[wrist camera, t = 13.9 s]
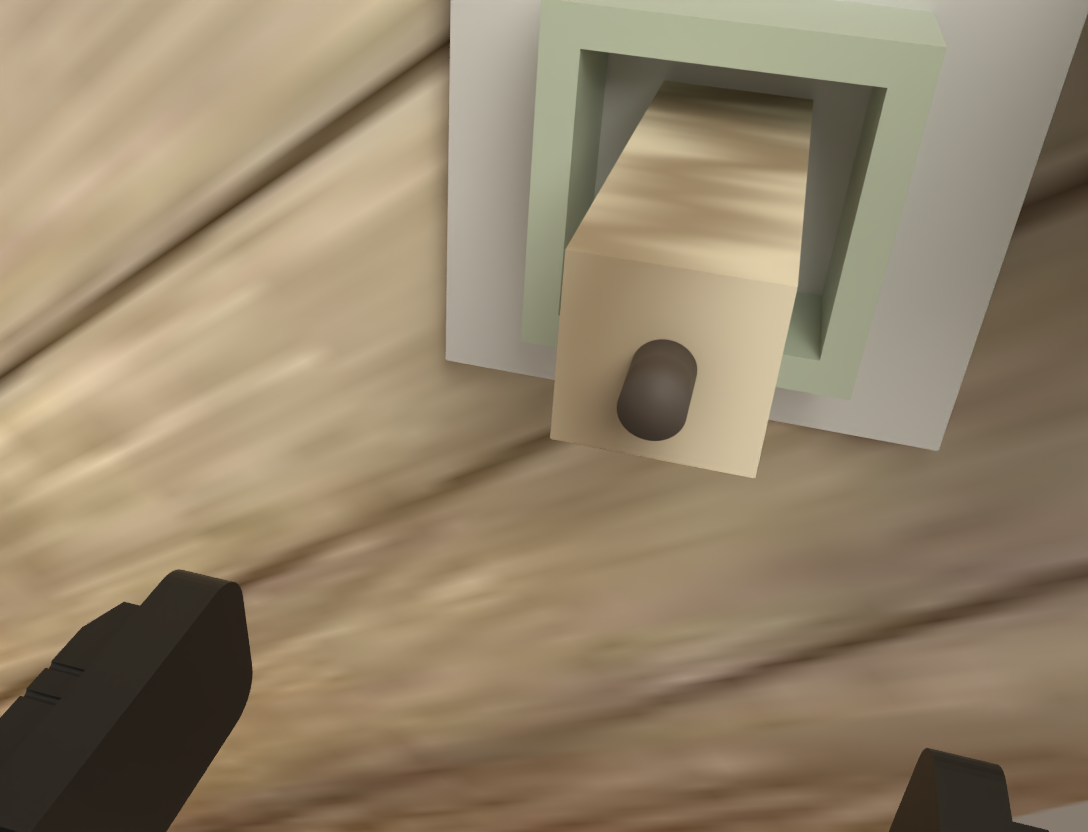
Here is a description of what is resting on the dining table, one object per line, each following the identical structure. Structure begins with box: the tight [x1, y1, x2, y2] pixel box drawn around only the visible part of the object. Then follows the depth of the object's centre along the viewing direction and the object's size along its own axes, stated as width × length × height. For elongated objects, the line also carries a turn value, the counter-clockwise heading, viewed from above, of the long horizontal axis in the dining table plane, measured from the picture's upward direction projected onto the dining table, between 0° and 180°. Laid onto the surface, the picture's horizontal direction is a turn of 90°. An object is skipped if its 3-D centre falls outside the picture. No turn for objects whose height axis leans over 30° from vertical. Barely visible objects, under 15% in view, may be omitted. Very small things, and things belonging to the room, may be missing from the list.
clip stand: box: [446, 0, 1088, 451], centre depth 27 cm, size 16×16×5 cm
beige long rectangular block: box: [550, 80, 813, 478], centre depth 23 cm, size 4×4×14 cm
